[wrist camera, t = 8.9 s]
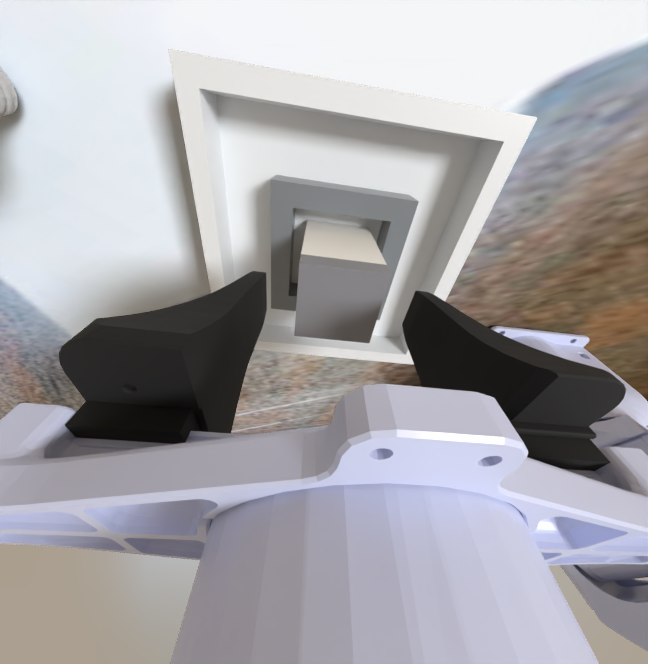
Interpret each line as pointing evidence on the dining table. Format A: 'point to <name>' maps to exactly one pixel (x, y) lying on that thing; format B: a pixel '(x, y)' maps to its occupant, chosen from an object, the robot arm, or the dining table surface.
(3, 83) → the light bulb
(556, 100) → the dining table surface
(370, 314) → the connector plug
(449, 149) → the inlet box
